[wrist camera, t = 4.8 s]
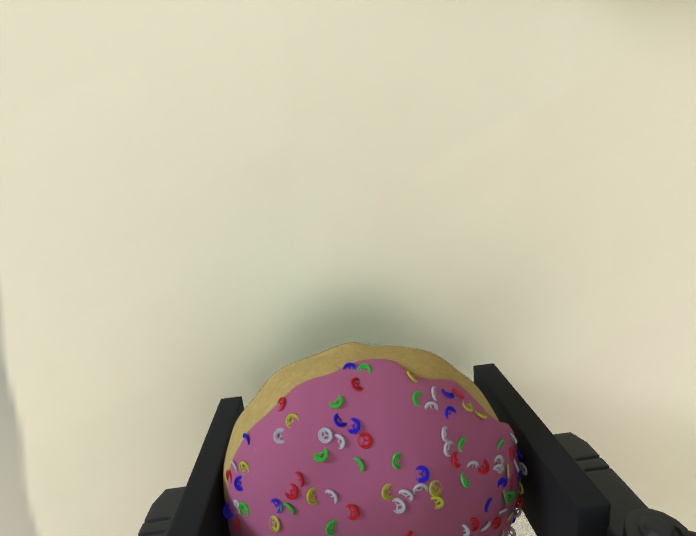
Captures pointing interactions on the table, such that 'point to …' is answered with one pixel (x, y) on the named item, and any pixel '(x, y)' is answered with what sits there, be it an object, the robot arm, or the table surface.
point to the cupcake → (371, 451)
